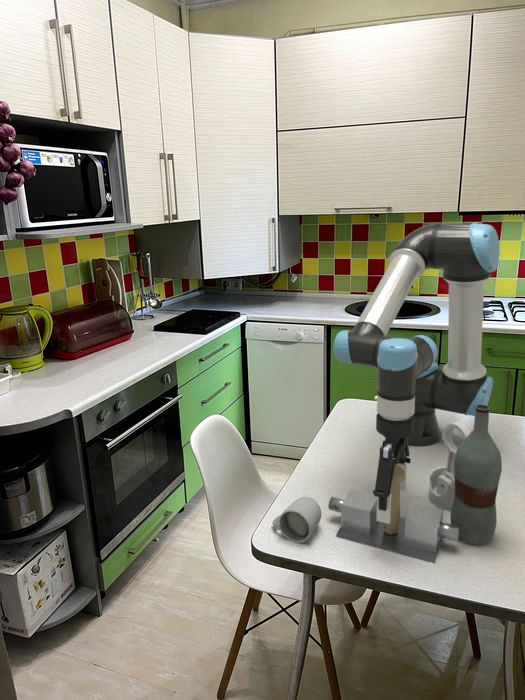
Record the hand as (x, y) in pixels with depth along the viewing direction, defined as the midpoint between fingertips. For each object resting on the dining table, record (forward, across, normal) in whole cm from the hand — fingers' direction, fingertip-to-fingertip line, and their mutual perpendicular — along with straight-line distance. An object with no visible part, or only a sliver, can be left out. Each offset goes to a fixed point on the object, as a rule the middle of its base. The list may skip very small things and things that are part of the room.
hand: (391, 504), depth 115 cm
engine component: (+7, -19, +10) cm, 23 cm away
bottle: (+7, -7, +16) cm, 19 cm away
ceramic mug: (+8, +8, -19) cm, 22 cm away
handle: (+7, 0, 0) cm, 7 cm away
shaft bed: (+7, 0, 0) cm, 7 cm away
